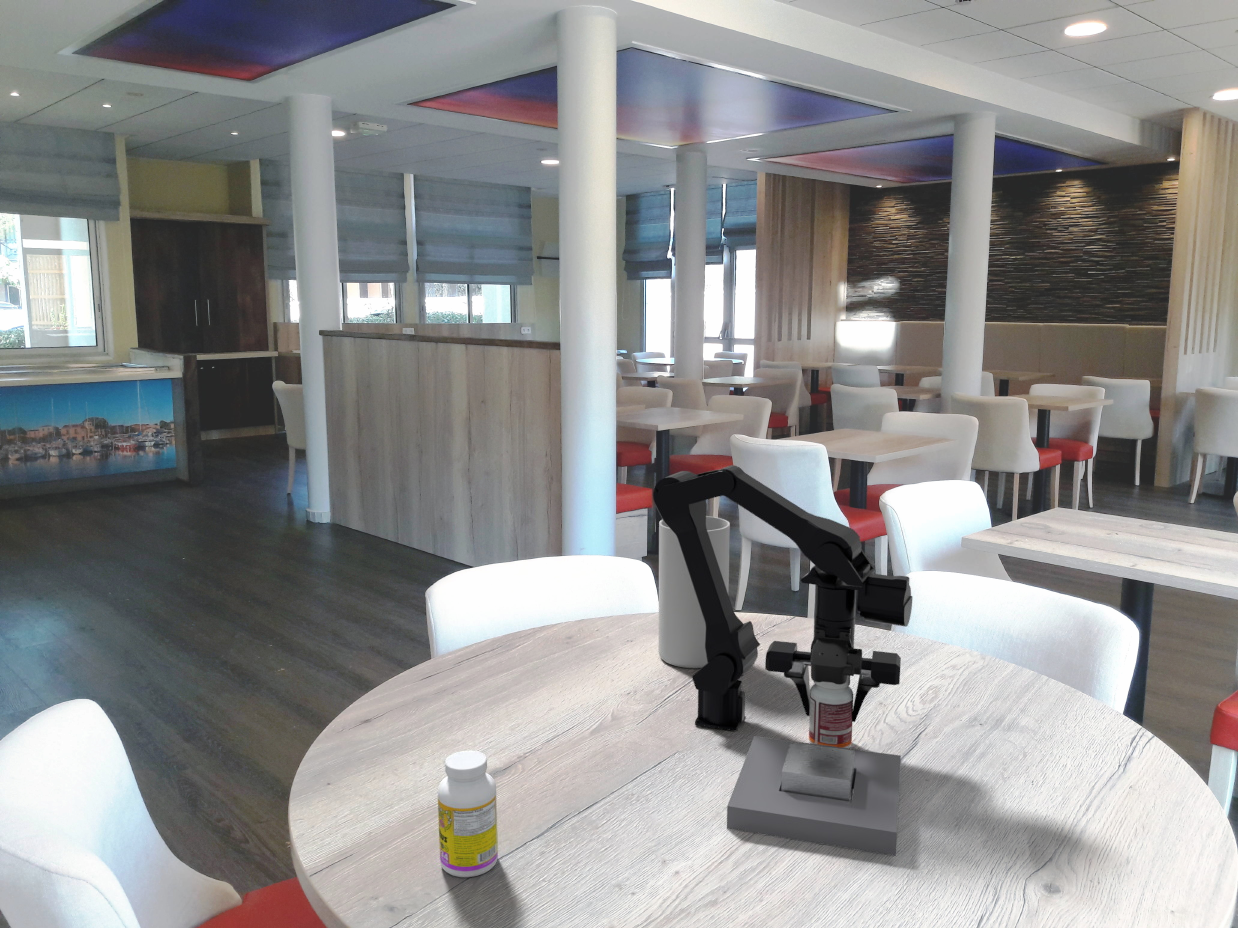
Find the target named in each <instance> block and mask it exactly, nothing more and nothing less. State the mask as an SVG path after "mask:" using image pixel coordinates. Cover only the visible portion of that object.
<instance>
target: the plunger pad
mask: <svg viewBox="0 0 1238 928" xmlns="http://www.w3.org/2000/svg"><path fill="white" fill-rule="evenodd" d="M854 761H855V751H854V750H846V749H839V748H831V747H824V746H816V745H809V744H801V743H794V742H791V743H790V746H789V749H788V753H787V756H786V759H785V763H784V766H783V769H782V787H781V791H782V792H788V793H795V794H802V795H809V796H815V797H822V798H829V799H835V800H842V801H849V802H851V795H852V790H853V789H852V782H853V775H854Z"/></svg>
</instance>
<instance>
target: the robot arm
mask: <svg viewBox="0 0 1238 928" xmlns="http://www.w3.org/2000/svg"><path fill="white" fill-rule="evenodd" d="M717 497H718V498H719V497H725V498H727V499H728V500H730V501H732V502H734V504H737V506H740V507H741V508H743V509H744V510H746V511H748V512H749V513H751V514H752V515H753V516H755V517H757V518H758V519H760V520H761V521H763V522H765V523H766V524H768V525H769V526H771V527H772V528H774V529H775V530H777V531H778V532H780V533H782V534H783V535H785V536H786V537H788V538H789V539H790V540H791V541H792V542H793V543H795V544H796V546H797V548H798V549H799V550H800V552H801V553H802V555H803V556H804V557H806V558H807V559H808V560H809V562H811V563H812V564H813V566H812V567H811V568H810V570H809V572H807V573H806V574H805V575H803V576H802V577H801V579H800V582H801V583H802V584H807V585H814V586H815V588H814V609H813V611H814V615H813V640H812V641H811V644H810V651H803V650H802V651H801V650H798V643H797V642H789V641H780V640H774V641H772V642H771V643H770V645H769V646H768V647H767V648H768V649H767V651H766V654H765V662H764V663H765V668H764V669H765V670H766V671H768V672H774V673H783V677H784V678H786V679H790V680H792V682H793V683H794V685H795V687H796V690H797V692H798V693H799V697H800V700H801V704H802V706H803V710H804V713H805V715H806V716H807V717H809V713H810V690H811V687H810V685H811V684H810V678H811V680H812V681H813V682H814V681H815V682H831V683H835V684H839V685H841V684H844V683H845V682H846V681H847V676H850V677H854V676H855V675H857V676H858V681H857V686H856V692H855V696H854V700H853V713H852V723H855V722H856V720H857V717H858V715H859V713H860V711H861V708H862V705H863V704H864V701H865V699H866V697H867V695H868V694H869V692H870V691H871V689H873V688H874V689H876V688H877V689H878V688H880V687H881V684H883V685H890V686H897V685H900V683H901V682H900V679H901V678H900V677H901V664H902V663H901V661H902V658H901V656H900V654H898V653H897V652H888V651H879V650H877V651H876V650H872V655H871V656H872V657H871V658H870V657H863V649H862V648H855V631H856V630H855V628H856V627H855V626H856V607H857V612H858V613H859V616H860V618H861V617H862V618H863V619H864V621H865V622H866V621H867V622H873V623H877V624H878V623H879V624H886V625H891V626H892V625H894V626H898V627H908V626H909V623H910V620H911V615H912V608H913V596H912V588H911V586H910V577H909V576H905V575H896V576H895V575H888V574H879V573H876V567H874V565H873V564H872V562H871V560H870V559H869V558H868V556H867V555H866V554H865V552H864V550H863V549H862V546H863V545H862V542H861V539H860V535H859V534H858V532H856V531H855V529H854V528H851V527H849V526H847V525H846V524H845V525H844V524H843V523H840V522H837V521H835V520H832V519H830V518H827V517H822V516H818V515H815V514H813V513H810V512H808V511H806V510H804V509H803V508H802V507H800V506H798V505H797V504H795V503H794V502H792V501H790V500H788V499H787V498H786V497H784V496H783V495H781V494H779V493H778V492H776V491H774V490H773V489H771V488H770V487H768V486H767V485H765V484H764V483H762V482H760V481H758V480H757V479H756V478H754V477H752V476H751V475H749V474H748V473H747V472H745V471H744V470H743V468H741V467H740V466H737V465H727V466H725V467H723V468H720V469H714V470H709V471H705V472H701V473H697V474H696V473H694V472H692V471H688V470H683V471H682V470H681V471H678V472H676V473H673V474H670V475H668V476H666V477H663V478H662V479H660V480H659V481H658V482H657V483H656V484H655V487H654V489H653V490H652V501H653V504H654V505H655V507H656V510H657V511H658V513H659V516H660V518H661V520H663V521H664V522H665V524H666V525H667V526H668V527H669V528H670V529H671V530H672V531H673V532H674V534H675V535H676V537H677V539H678V542H679V545H680V548H681V551H682V554H683V557H684V560H685V563H686V566H687V569H688V572H689V575H690V578H691V581H692V584H693V587H694V591H695V594H696V597H697V600H698V603H699V606H700V609H701V612H702V615H703V618H704V621H705V625H706V631H705V652H706V658H707V664H705V665H704V666H703V667H702V668H699V670H697V671H696V672H695V673H694V674H692V677H691V678H692V682H693V684H694V688H695V690H697V717H696V719H695V721H694V726H697V727H703V728H711V729H719V730H726V731H738V729H739V726H740V724H741V723H742V722H743V721H744V719H745V717H746V712H745V711H746V692H745V690H742V689H743V681H742V680H741V679H740V678H742V677H743V676H744V675H745V674H746V673H747V672H748V670H750V669H751V667H753V666H754V665H755V663H756V662H757V659H758V655H759V652H758V648H759V647H760V646H761V643H760V642H759V641H758V639H757V638H756V636H755V630H754V625H753V623H752V621H751V620H748V621H747V622H744V623H743V621H742V620H740V619H739V617H738V616H737V615H736V613H735V611H734V608H733V604H732V603H731V599H730V594H729V593H728V592H727V589H726V586H725V583H724V580H723V577H722V574H721V571H720V568H719V565H718V562H717V559H716V556H715V553H714V550H713V547H712V544H711V541H710V538H709V535H708V532H707V528H706V516H707V505H708V504H707V500H710V499H715V498H717ZM809 667H810V671H809Z"/></svg>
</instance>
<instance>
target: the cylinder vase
mask: <svg viewBox="0 0 1238 928" xmlns="http://www.w3.org/2000/svg"><path fill="white" fill-rule="evenodd" d="M658 524H659V525H658V526H659V527H658V651H657V652H658V655H659V657H660V659H661V660H662V661H664V662H665V663H667V664H668V665H672V666H675V667H678V668H685V669H701V668H702V667H703V666H704V665H705V664H707V658H706V652H705V631H706V625H705V621H704V618H703V615H702V612H701V609H700V606H699V603H698V600H697V597H696V594H695V591H694V587H693V584H692V581H691V578H690V575H689V572H688V569H687V566H686V563H685V560H684V557H683V554H682V551H681V548H680V545H679V542H678V539H677V537H676V535H675V534H674V532H673V531H672V530H671V529H670V528H669V527H668V526H667V525H666V524H665V522H664V521H663V519H661V520H660V521H659V523H658ZM730 524H731V522H729V520H726V519H724V518H721V517H715V516H710V515H709V516H708V515H706V528H707V532H708V535H709V538H710V541H711V544H712V547H713V550H714V553H715V556H716V559H717V562H718V565H719V568H720V571H721V574H722V577H723V580H724V583H725V586H726V589H727V592H728V594H729V590H730V589H729V587H730V581H729V579H730V533H731V532H730V529H731V528H730V526H731V525H730Z"/></svg>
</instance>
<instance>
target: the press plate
mask: <svg viewBox="0 0 1238 928" xmlns="http://www.w3.org/2000/svg"><path fill="white" fill-rule="evenodd" d="M791 742H794V743H801V744H809V745H816V746H824V747H831V748H839V749H846V750H854V751H855V761H854V775H853V782H852V789H851V790H853V793H852V798H851V799H852V800H851V801H850V802H849V801H842V800H835V799H829V798H822V797H815V796H809V795H802V794H795V793H788V792H782V791H781V787H782V769H783V766H784V763H785V759H786V756H787V753H788V749H789V746H790V743H791ZM749 746H750V747H749V749H748V752H747V754H746V757H745V759H744V761H743V764H742V766H741V769H740V772H739V774H738V777H737V780H736V783H735V785H734V788H733V790H732V793H731V795H730V798H729V800H728V803H727V805H726V806H727V807H726V830H727V829H728V830H733V831H734V830H735V831H739V832H746V833H750V834H751V833H752V834H758V835H764V836H770V837H776V838H780V839H781V838H783V839H789V840H794V841H800V842H801V841H802V842H806V843H807V842H808V843H812V844H818V845H819V844H820V845H826V846H831V847H836V848H837V847H838V848H843V849H850V850H857V851H862V852H870V853H874V854H879V855H886V856H893V857H897V845H898V844H897V843H898V841H897V840H898V825H899V823H898V822H899V805H900V804H899V801H900V781H901V780H900V779H901V759H902V758H901V757H902V756H901V755H899V754H892V753H885V752H877V751H869V750H861V749H856V748H855V749H854V748H840V747H833V746H825V745H818V744H811V743H810V742H809V743H808V742H802V741H795V740H794V741H793V740H788V739H779V738H773V737H772V738H771V737H766V736H763V737H762V736H757V735H754V736H753V738H752V741H751V744H750V745H749Z"/></svg>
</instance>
